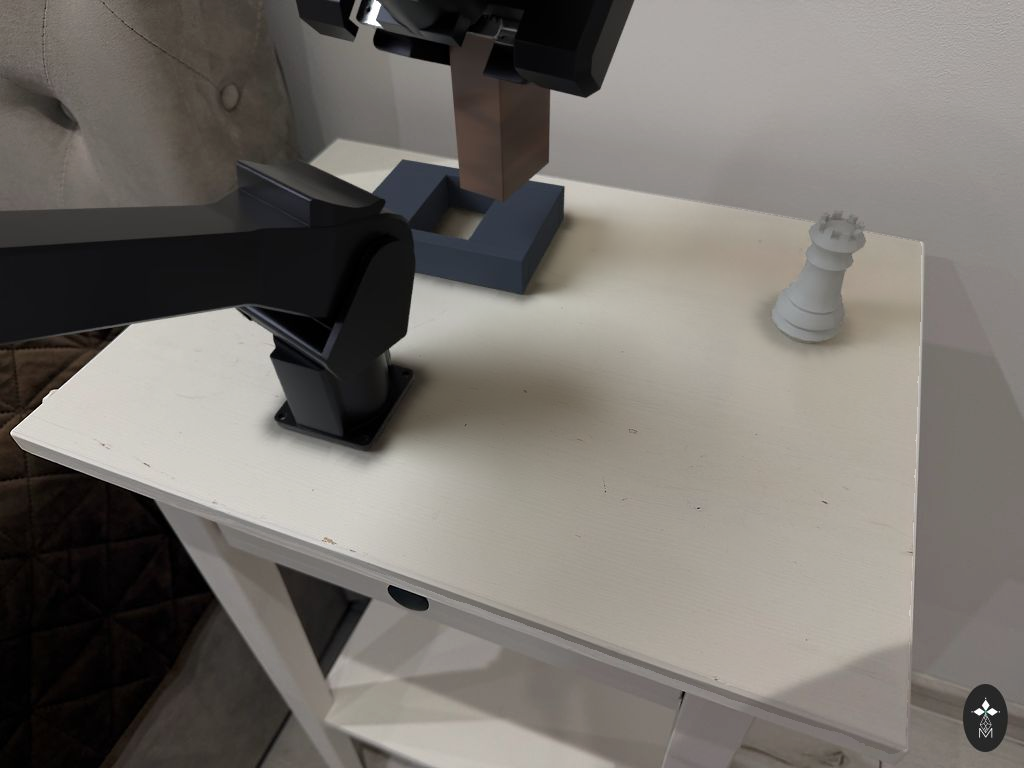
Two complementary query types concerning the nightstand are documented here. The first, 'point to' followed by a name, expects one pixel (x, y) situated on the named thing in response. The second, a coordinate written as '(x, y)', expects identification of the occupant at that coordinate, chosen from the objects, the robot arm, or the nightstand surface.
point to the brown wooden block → (496, 124)
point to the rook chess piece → (820, 281)
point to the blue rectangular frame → (497, 239)
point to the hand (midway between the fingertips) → (514, 71)
